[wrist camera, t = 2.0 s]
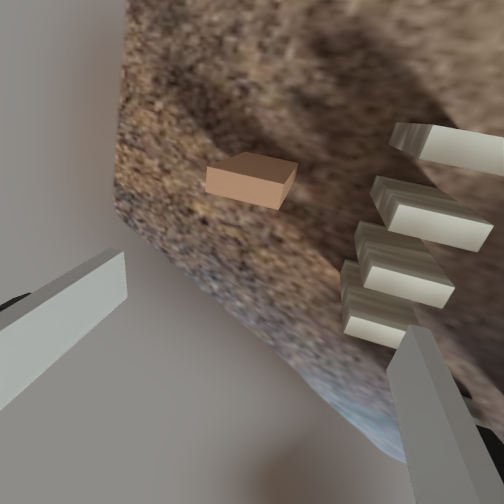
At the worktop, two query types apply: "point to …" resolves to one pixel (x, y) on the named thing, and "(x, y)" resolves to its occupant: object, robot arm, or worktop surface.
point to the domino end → (252, 179)
